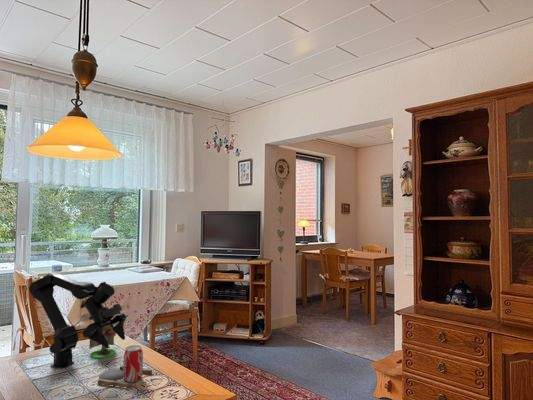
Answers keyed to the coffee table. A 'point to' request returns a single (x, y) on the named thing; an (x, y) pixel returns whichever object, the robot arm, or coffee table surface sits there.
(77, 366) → the coffee table surface
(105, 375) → the coaster
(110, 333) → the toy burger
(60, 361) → the robot arm
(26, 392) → the coffee table surface
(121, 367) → the rail
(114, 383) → the rail
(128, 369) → the soda can
